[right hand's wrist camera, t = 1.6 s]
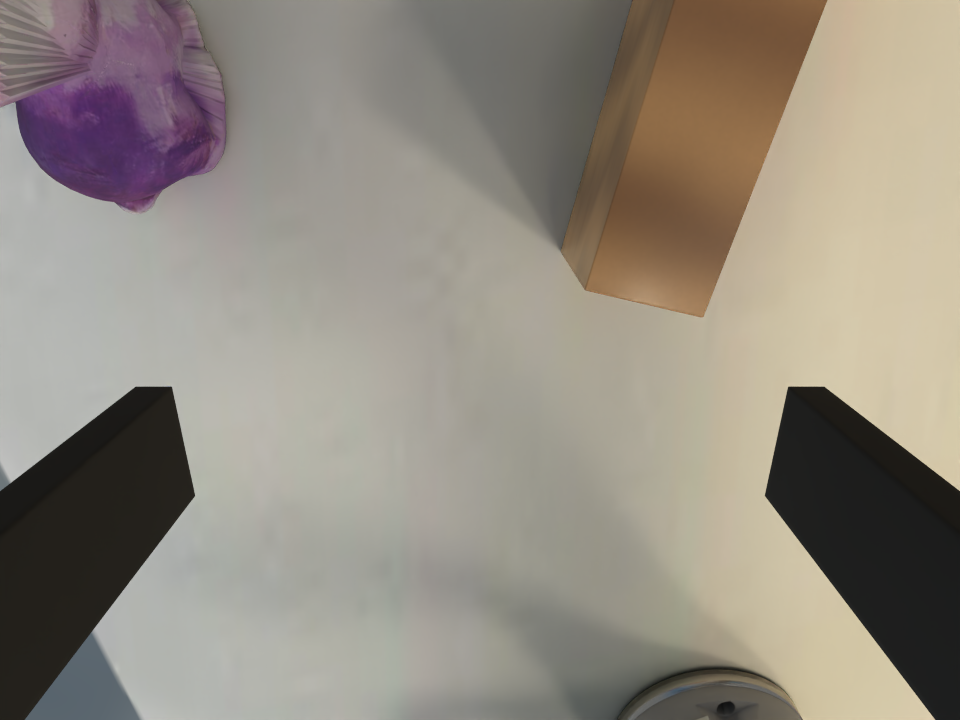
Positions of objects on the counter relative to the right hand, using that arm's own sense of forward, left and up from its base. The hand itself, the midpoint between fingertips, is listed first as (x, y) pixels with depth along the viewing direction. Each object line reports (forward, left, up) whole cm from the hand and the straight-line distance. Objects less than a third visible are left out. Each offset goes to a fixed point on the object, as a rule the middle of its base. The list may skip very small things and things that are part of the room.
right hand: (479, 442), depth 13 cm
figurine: (+18, +6, -22) cm, 29 cm away
